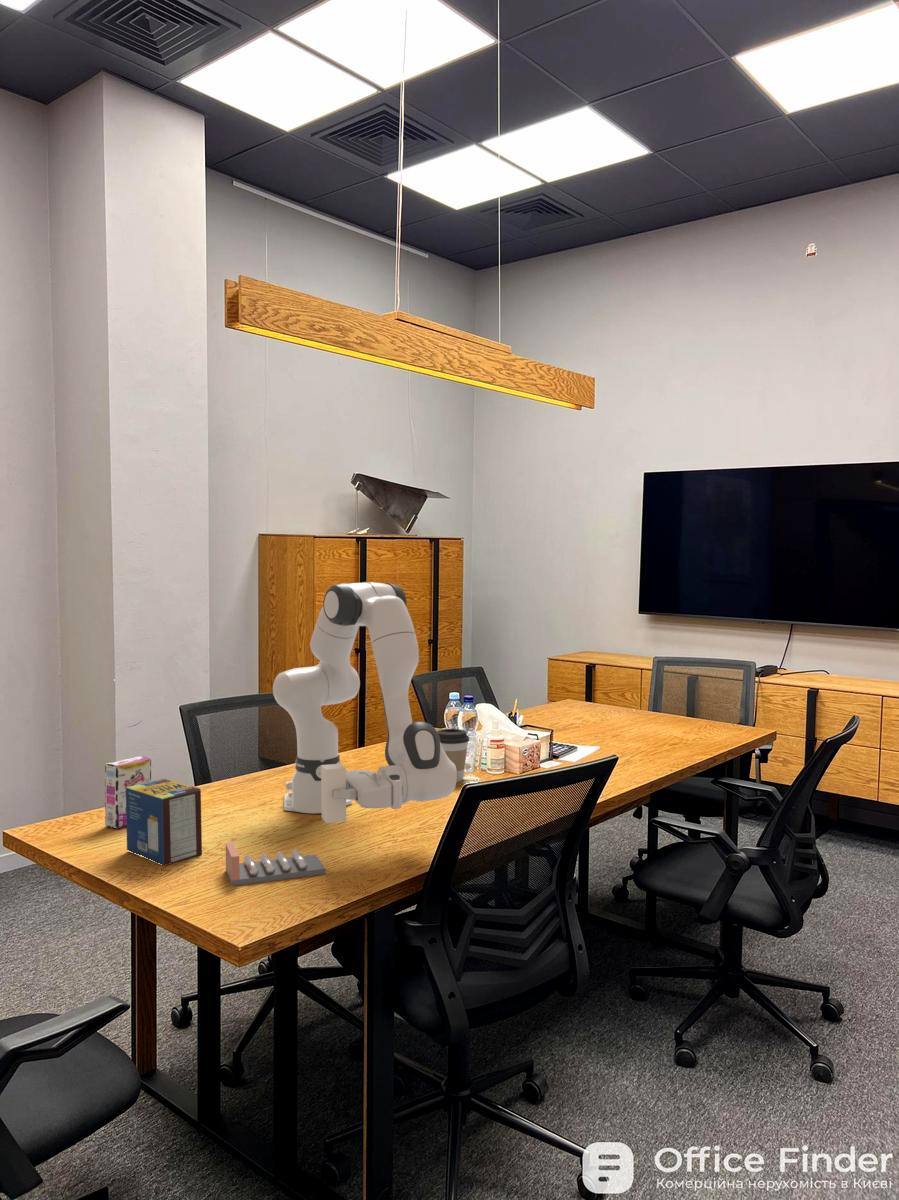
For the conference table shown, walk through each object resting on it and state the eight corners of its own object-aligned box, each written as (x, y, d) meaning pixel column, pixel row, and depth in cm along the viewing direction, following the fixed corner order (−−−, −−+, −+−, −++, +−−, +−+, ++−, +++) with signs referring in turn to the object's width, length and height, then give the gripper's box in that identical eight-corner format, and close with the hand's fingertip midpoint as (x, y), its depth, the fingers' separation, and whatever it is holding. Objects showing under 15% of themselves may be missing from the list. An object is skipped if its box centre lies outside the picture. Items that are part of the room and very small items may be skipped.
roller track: (225, 870, 198) (225, 842, 197) (315, 859, 205) (315, 832, 205) (231, 886, 188) (231, 856, 188) (325, 873, 195) (325, 845, 195)
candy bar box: (117, 830, 227) (116, 766, 226) (104, 827, 229) (103, 763, 229) (153, 819, 236) (151, 757, 236) (140, 816, 239) (139, 755, 238)
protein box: (164, 841, 218) (163, 778, 217) (202, 854, 208) (202, 788, 208) (125, 852, 210) (124, 786, 209) (163, 866, 200) (162, 798, 200)
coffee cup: (469, 775, 283) (469, 728, 282) (469, 784, 272) (469, 735, 271) (433, 775, 284) (433, 728, 283) (431, 784, 272) (431, 735, 271)
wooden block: (321, 818, 202) (321, 765, 201) (341, 815, 204) (340, 763, 203) (326, 823, 198) (325, 769, 197) (346, 821, 200) (345, 767, 199)
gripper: (375, 761, 215) (318, 766, 210) (402, 782, 196) (340, 788, 191) (375, 787, 215) (319, 793, 210) (402, 810, 196) (341, 817, 191)
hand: (329, 791), depth 200 cm, fingers closed on wooden block, 4 cm apart
